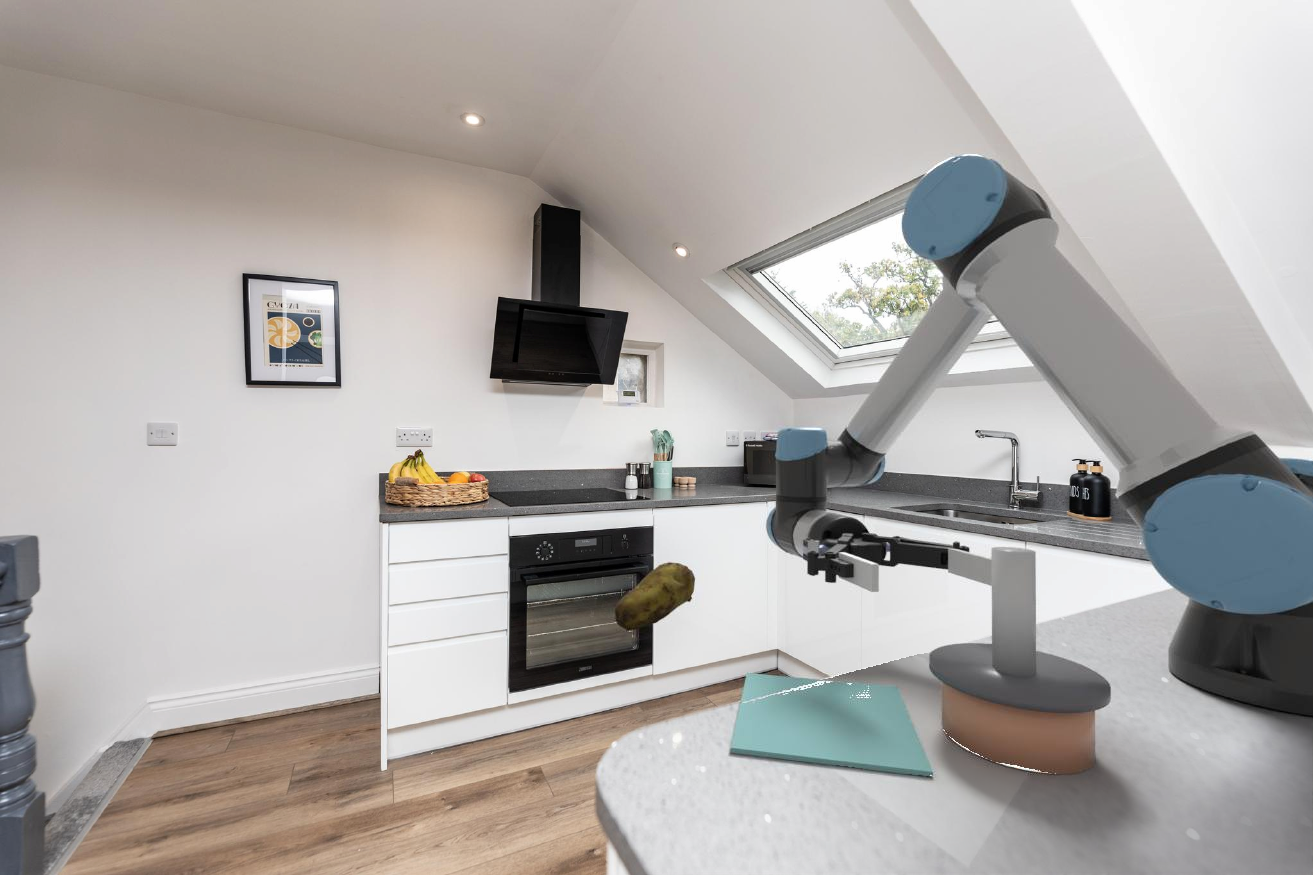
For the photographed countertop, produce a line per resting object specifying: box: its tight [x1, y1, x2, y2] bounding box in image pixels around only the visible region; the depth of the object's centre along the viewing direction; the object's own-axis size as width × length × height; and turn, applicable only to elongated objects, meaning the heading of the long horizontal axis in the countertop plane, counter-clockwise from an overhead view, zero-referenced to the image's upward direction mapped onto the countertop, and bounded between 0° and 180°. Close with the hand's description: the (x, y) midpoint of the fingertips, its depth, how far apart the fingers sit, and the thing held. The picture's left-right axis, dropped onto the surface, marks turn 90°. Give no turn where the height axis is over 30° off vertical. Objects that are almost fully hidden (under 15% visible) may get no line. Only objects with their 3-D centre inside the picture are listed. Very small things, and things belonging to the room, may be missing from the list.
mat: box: [730, 672, 934, 777], centre depth 53 cm, size 15×16×1 cm
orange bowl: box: [941, 682, 1096, 775], centre depth 50 cm, size 11×11×5 cm
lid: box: [928, 546, 1112, 713], centre depth 50 cm, size 13×13×11 cm
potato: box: [614, 561, 696, 631], centre depth 82 cm, size 8×13×8 cm, turn 116°
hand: (936, 575), depth 60 cm, fingers open, 13 cm apart
